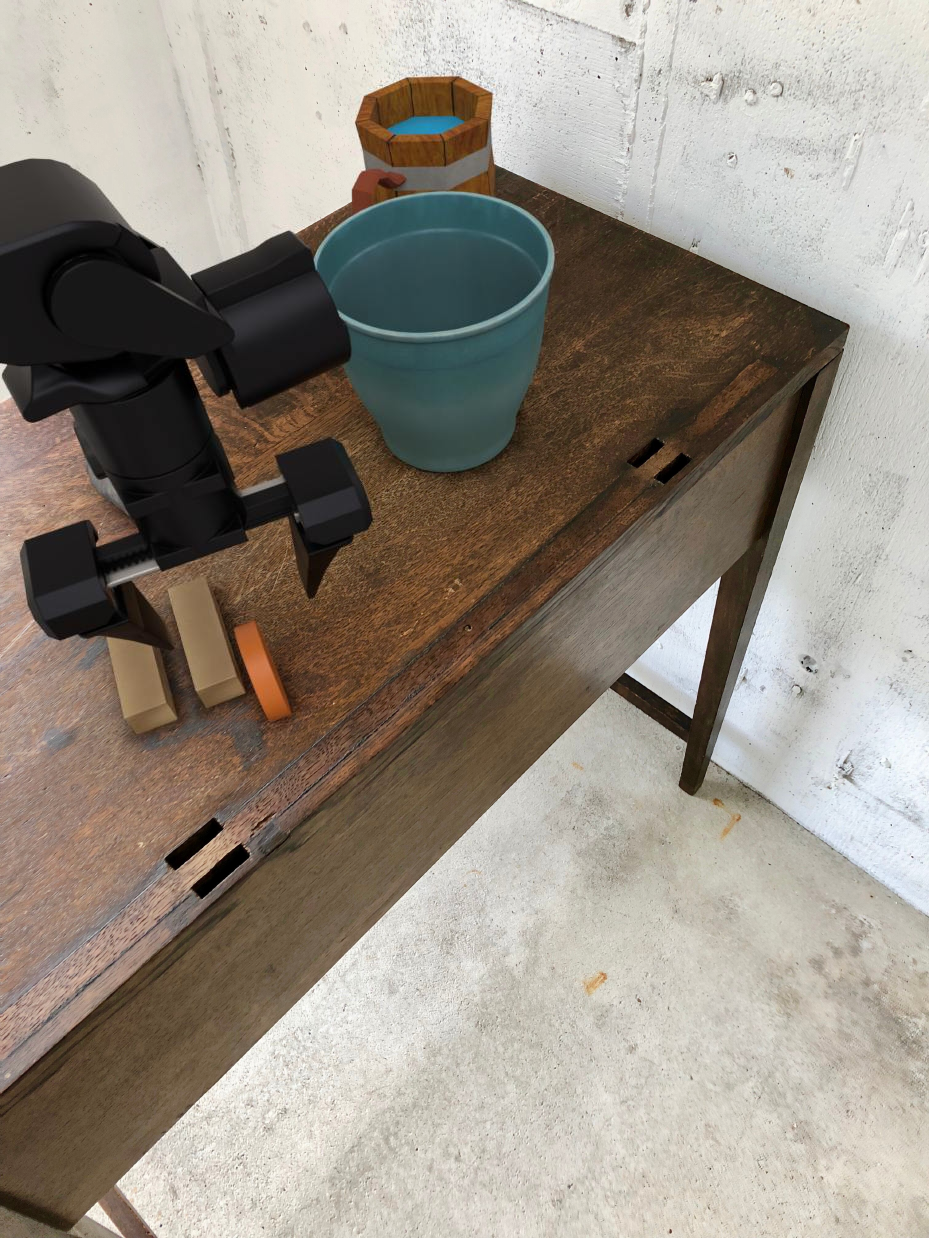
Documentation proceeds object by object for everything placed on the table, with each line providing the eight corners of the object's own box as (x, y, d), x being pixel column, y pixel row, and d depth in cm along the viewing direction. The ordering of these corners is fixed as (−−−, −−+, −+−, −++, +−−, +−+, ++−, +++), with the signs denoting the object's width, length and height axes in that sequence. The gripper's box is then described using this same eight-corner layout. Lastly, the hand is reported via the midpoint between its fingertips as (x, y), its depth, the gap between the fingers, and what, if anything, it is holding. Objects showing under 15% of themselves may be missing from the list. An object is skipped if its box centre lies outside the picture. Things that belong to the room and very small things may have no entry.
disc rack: (137, 735, 62) (123, 718, 60) (113, 630, 68) (100, 612, 66) (246, 693, 64) (236, 675, 62) (214, 594, 69) (205, 575, 67)
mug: (416, 208, 100) (399, 65, 88) (522, 234, 96) (521, 87, 83) (321, 306, 90) (288, 160, 78) (434, 339, 86) (418, 190, 74)
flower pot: (558, 497, 73) (564, 324, 59) (344, 509, 74) (300, 342, 60) (543, 358, 83) (545, 183, 70) (355, 369, 84) (320, 199, 70)
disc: (278, 738, 62) (253, 692, 56) (251, 660, 65) (226, 609, 59) (298, 730, 62) (276, 683, 56) (271, 652, 66) (247, 601, 60)
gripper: (288, 295, 49) (339, 488, 62) (-49, 399, 46) (78, 579, 59) (351, 416, 43) (394, 602, 56) (-33, 545, 40) (105, 711, 53)
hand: (241, 618), depth 56 cm, fingers open, 9 cm apart
